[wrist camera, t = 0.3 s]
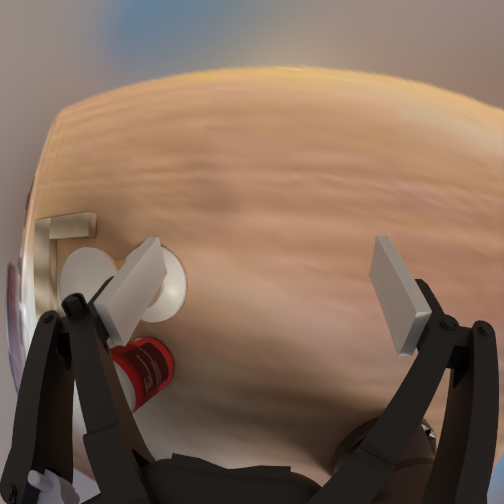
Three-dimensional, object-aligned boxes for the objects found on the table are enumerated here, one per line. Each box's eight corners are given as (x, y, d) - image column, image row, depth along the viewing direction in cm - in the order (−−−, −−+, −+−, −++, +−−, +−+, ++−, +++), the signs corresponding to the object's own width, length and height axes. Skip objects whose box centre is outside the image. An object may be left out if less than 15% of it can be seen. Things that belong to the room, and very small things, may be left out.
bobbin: (188, 324, 34) (130, 352, 21) (124, 317, 35) (58, 335, 23) (187, 244, 34) (126, 233, 21) (123, 246, 36) (54, 238, 23)
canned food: (123, 368, 35) (75, 393, 24) (138, 324, 35) (85, 341, 24) (165, 397, 34) (124, 433, 23) (184, 353, 34) (140, 384, 23)
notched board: (99, 345, 36) (92, 348, 34) (44, 330, 39) (38, 332, 37) (96, 213, 37) (89, 211, 35) (42, 221, 40) (35, 220, 38)
